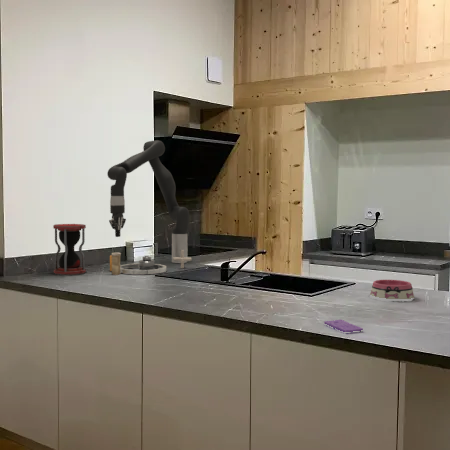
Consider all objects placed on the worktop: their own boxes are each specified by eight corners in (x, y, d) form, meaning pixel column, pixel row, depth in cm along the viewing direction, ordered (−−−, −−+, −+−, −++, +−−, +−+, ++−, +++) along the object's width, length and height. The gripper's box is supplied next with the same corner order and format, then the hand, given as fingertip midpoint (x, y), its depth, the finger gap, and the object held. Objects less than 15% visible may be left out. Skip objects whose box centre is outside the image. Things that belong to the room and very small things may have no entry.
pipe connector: (190, 269, 314) (190, 251, 313) (172, 269, 314) (172, 251, 313) (191, 266, 324) (192, 249, 323) (174, 266, 324) (174, 249, 323)
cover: (144, 268, 316) (144, 254, 315) (156, 269, 312) (156, 255, 312) (136, 270, 308) (136, 256, 308) (149, 271, 305) (149, 257, 305)
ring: (112, 267, 317) (112, 252, 316) (166, 267, 320) (166, 252, 319) (107, 274, 291) (107, 258, 291) (166, 274, 294) (166, 258, 293)
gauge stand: (114, 273, 297) (114, 252, 296) (122, 274, 295) (122, 252, 294) (110, 274, 293) (110, 253, 292) (117, 275, 291) (117, 253, 290)
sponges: (341, 324, 196) (341, 319, 195) (363, 333, 184) (363, 327, 184) (323, 326, 193) (323, 320, 193) (345, 335, 181) (345, 329, 181)
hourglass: (80, 275, 289) (80, 226, 287) (49, 274, 289) (48, 225, 287) (89, 270, 305) (89, 223, 303) (59, 270, 305) (59, 223, 303)
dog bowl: (368, 300, 235) (369, 284, 235) (369, 292, 253) (370, 277, 253) (415, 304, 230) (416, 287, 230) (413, 295, 248) (414, 279, 248)
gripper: (118, 203, 313) (118, 235, 314) (104, 204, 301) (104, 237, 302) (130, 204, 310) (130, 235, 311) (116, 205, 298) (116, 238, 299)
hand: (117, 236), depth 307 cm, fingers closed
